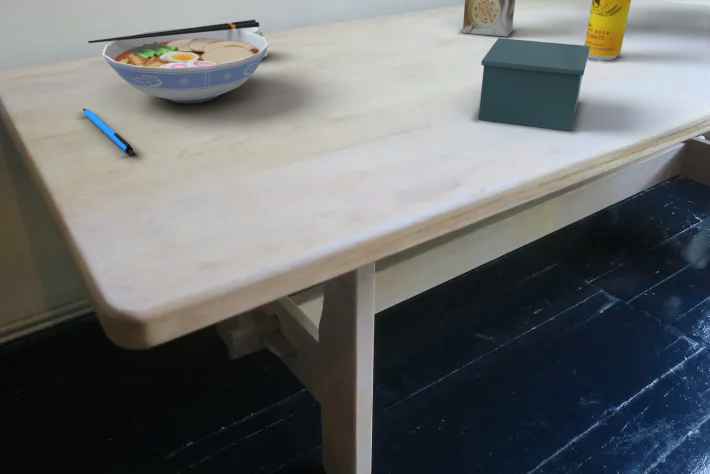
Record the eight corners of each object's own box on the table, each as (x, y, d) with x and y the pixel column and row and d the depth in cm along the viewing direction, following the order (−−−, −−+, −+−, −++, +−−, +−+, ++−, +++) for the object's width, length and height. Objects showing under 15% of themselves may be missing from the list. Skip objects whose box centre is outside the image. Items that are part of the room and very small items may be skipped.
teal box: (580, 102, 95) (590, 45, 91) (573, 132, 85) (584, 70, 81) (492, 92, 99) (498, 37, 95) (475, 120, 89) (481, 60, 85)
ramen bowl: (115, 135, 83) (103, 71, 79) (94, 84, 101) (83, 30, 97) (301, 107, 93) (299, 48, 89) (251, 65, 111) (247, 15, 106)
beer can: (575, 53, 118) (590, -37, 110) (602, 50, 120) (619, -39, 112) (598, 62, 113) (616, -32, 105) (626, 58, 115) (646, -34, 107)
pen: (130, 158, 77) (128, 149, 76) (80, 112, 90) (79, 104, 90) (137, 156, 77) (136, 147, 77) (87, 111, 91) (85, 103, 90)
